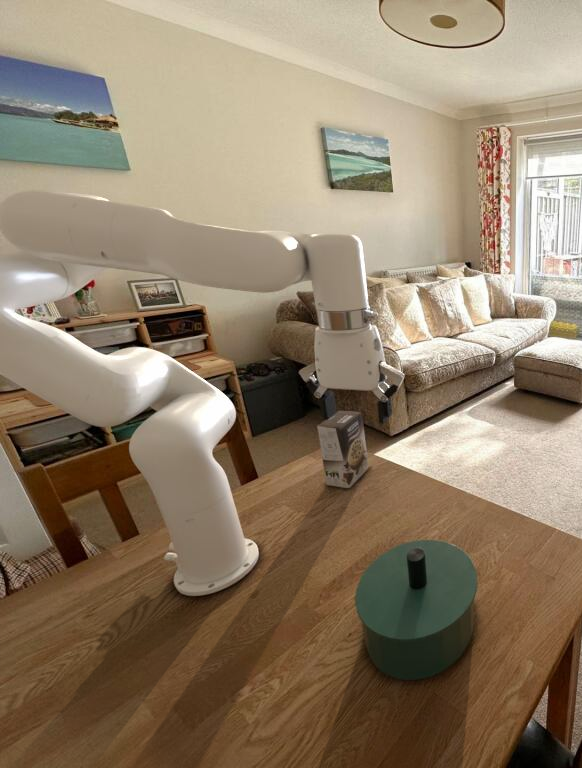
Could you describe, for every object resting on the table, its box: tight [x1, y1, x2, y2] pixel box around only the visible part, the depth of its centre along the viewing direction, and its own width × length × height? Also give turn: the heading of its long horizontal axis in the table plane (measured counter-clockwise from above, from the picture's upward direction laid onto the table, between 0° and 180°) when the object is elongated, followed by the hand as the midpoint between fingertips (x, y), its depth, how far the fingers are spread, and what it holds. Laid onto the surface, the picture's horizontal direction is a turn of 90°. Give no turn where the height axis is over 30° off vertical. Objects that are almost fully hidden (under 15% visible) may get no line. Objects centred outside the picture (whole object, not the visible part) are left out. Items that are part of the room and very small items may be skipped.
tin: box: [361, 599, 476, 681], centre depth 62 cm, size 17×17×8 cm
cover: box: [354, 539, 478, 642], centre depth 60 cm, size 18×18×7 cm
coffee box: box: [316, 409, 370, 489], centre depth 98 cm, size 9×6×16 cm
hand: (357, 418), depth 68 cm, fingers open, 9 cm apart
